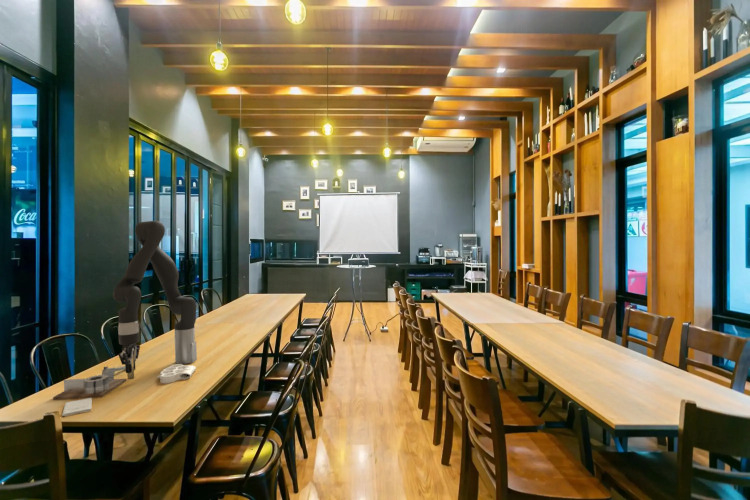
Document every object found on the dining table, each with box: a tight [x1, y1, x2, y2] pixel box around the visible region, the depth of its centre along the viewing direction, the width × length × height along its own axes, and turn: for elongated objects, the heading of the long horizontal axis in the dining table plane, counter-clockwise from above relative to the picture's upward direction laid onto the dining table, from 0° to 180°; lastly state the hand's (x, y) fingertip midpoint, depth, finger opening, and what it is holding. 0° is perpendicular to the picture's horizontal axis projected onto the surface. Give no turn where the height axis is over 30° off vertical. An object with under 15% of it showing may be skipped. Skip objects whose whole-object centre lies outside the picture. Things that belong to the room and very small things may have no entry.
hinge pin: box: [126, 356, 135, 381], centre depth 166 cm, size 2×2×12 cm
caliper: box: [101, 365, 126, 375], centre depth 180 cm, size 20×1×6 cm, turn 0°
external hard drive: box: [61, 397, 93, 417], centre depth 142 cm, size 2×8×12 cm
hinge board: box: [52, 378, 127, 401], centre depth 161 cm, size 18×18×1 cm
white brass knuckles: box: [156, 363, 197, 384], centre depth 176 cm, size 3×18×15 cm
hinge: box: [63, 369, 115, 394], centre depth 160 cm, size 16×16×5 cm
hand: (130, 371), depth 166 cm, fingers closed on hinge pin, 2 cm apart
